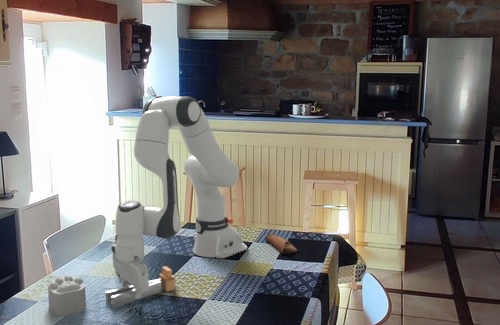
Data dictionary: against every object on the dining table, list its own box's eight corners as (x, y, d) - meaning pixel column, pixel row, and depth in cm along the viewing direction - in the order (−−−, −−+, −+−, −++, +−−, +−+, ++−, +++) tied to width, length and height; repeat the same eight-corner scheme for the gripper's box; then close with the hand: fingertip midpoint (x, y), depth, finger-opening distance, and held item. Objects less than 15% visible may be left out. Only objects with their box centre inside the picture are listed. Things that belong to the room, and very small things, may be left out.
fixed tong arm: (172, 285, 186) (172, 275, 186) (174, 286, 185) (174, 276, 185) (105, 302, 172) (105, 291, 172) (107, 303, 171) (107, 292, 171)
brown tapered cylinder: (301, 252, 219) (294, 240, 217) (287, 263, 218) (280, 250, 215) (282, 238, 236) (275, 227, 233) (269, 248, 234) (262, 236, 232)
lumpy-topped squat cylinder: (53, 317, 162) (52, 291, 160) (45, 300, 172) (44, 275, 171) (88, 310, 167) (87, 284, 165) (78, 294, 178) (77, 269, 176)
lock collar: (167, 283, 186) (167, 265, 185) (174, 289, 182) (174, 270, 181) (159, 285, 185) (159, 266, 183) (166, 291, 180) (166, 272, 179)
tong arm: (159, 290, 182) (159, 280, 181) (161, 291, 181) (161, 281, 180) (111, 306, 169) (111, 296, 169) (113, 307, 168) (113, 297, 168)
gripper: (153, 260, 166) (154, 301, 169) (126, 241, 183) (127, 279, 185) (134, 264, 163) (135, 307, 165) (108, 244, 179) (110, 283, 182)
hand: (131, 292), depth 176 cm, fingers open, 8 cm apart
